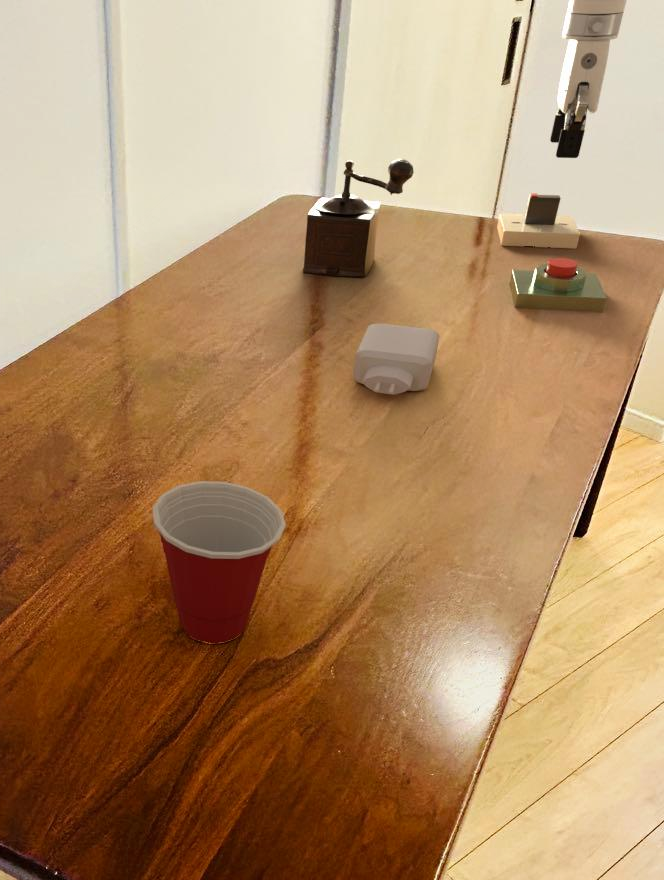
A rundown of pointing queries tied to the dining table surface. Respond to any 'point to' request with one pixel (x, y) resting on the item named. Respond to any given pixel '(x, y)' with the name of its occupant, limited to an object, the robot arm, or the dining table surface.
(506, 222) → the cream slotted base block
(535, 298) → the control block
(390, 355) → the charger
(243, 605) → the plastic cup
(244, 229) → the dining table surface
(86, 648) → the dining table surface
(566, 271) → the button
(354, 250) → the manual coffee grinder
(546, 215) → the upright dark panel
